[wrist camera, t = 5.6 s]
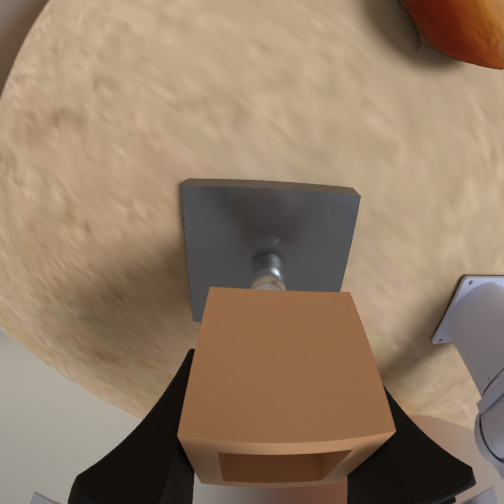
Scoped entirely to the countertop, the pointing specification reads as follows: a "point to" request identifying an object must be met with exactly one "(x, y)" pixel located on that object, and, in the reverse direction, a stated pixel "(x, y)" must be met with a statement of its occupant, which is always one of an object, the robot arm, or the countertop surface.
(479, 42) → the fruit
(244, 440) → the collar
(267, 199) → the post base
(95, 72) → the countertop surface
